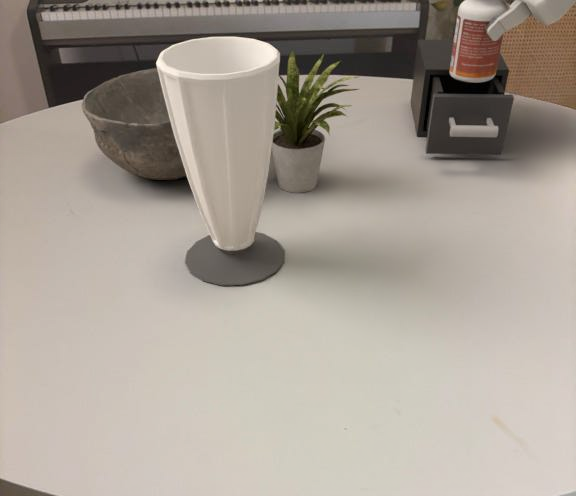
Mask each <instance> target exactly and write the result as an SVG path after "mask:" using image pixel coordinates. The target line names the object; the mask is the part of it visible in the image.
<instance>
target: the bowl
mask: <svg viewBox="0 0 576 496" xmlns="http://www.w3.org/2000/svg"><path fill="white" fill-rule="evenodd" d="M81 110H82V112H83V114H84V116H85V117H86V119H87V121H88V122H89V124H90V126H91V128H92V130H93V134H94V140H95V142H96V143H95V144H96V145H97V147H98V149H99V150H100V151H101V152H102V154H104V155H105V157H107V159H109V160H110V161H111V162H112V163H114V164H115V165H116V166H118V167H120V168H121V169H123V170H124V171H127V172H129V173H130V174H132V175H134V176H135V175H136V176H138V177H141V178H145V179H149V180H156V181H164V180H165V181H166V180H167V181H169V180H177V179H178V180H179V179H182V178H183V179H184V178H187V175H186V172H185V169H184V165H183V162H182V159H181V156H180V153H179V149H178V146H177V143H176V140H175V136H174V133H173V129H172V125H171V122H170V118H169V114H168V110H167V106H166V102H165V98H164V95H163V90H162V86H161V82H160V78H159V74H158V69H157V67H154V68H148V69H142V70H138V71H134V72H129V73H126V74H121V75H118V76H117V77H113V78H111V79H108V80H106V81H104V82H102V83H101V84H99V85H97V86H96V87H94V88H92V89H91V90H89V91H87V93H85V95H84V96H83V100H82V102H81Z"/></svg>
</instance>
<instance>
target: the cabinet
mask: <svg viewBox="0 0 576 496" xmlns="http://www.w3.org/2000/svg"><path fill="white" fill-rule="evenodd" d="M453 42H454V39H418V40H417V44H416V45H417V46H416V54H415V61H414V70H413V80H412V87H411V96H410V107H411V112H412V118H413V124H414V123H415V124H414V129H415V133H416V137H419V138H420V137H421V138H423V137H426V138H427V136H428V133H427V128H426V123H425V111H426V104H427V96H428V89H429V82H430V75H450V72H449V71H450V63H451V56H452V49H453ZM509 74H510V68H509V66H508V65H507V63H506V61H505V59H504V57H503V55H502V53H500V55H499V60H498V66H497V71H496V75H495V76H497V77H498V79H499V81H500V84H501V86H502V88H503V90H504V92H505V93H506V88H507V84H508V79H509Z"/></svg>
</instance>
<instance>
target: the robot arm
mask: <svg viewBox="0 0 576 496" xmlns="http://www.w3.org/2000/svg"><path fill="white" fill-rule="evenodd" d="M502 1H503V2H505V3H506V4H509V8H508V11H507V12H505V13H504V14H502V15H501V16H500V17H498V18H497V19H496V18H494V17H493V18H492V20H491V21H490V22H489V24H487V25H486V26H485V27H484V32H485V33H486V35H487V36H488V37H489V38H490V39H491V40H493V41H496V40H498V39H499V38H500V37H501V36H502V35H503V34H505V33H506V32H508V31H510V30H512V29H513V28H515V27H517V26H519V25H521V24H523V23H524V22H525V21H526V20H527V18H528V17H531V18H532V19H534V20H536V21H537V22H539V23H541V24H543V25H545V26H550V25H552V24H554V23H556V22H558V21H559V20H561V19H562V18H563V17H564V16H565V15H566V13H567V12H568V11H569V10H571V8H572V7H573V6H574V5H575V4H576V0H502ZM503 36H504V35H503Z"/></svg>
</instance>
